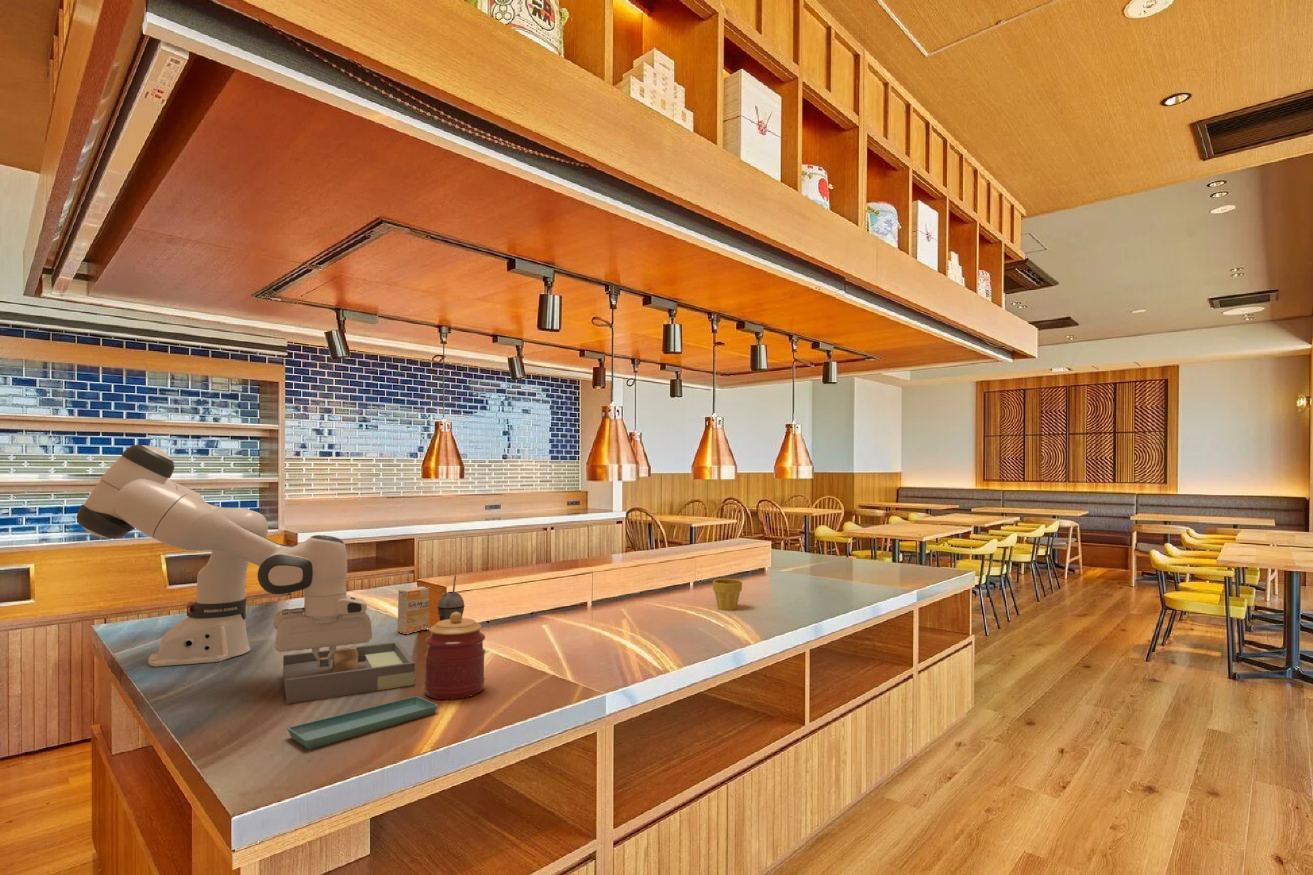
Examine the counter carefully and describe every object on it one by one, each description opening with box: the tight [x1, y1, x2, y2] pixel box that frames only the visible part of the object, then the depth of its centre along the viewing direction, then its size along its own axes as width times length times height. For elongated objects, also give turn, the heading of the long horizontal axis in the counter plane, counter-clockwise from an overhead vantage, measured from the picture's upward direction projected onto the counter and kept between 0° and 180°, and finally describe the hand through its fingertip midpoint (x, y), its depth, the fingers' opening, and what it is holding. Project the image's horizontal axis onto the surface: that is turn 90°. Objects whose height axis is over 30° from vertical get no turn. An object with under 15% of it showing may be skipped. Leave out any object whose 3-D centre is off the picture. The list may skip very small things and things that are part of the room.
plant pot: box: [712, 578, 743, 611], centre depth 246 cm, size 10×10×10 cm
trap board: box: [282, 641, 416, 705], centre depth 162 cm, size 26×22×5 cm
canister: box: [424, 612, 486, 701], centre depth 155 cm, size 13×13×18 cm
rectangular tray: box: [286, 695, 439, 750], centre depth 134 cm, size 26×9×2 cm, turn 138°
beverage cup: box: [437, 574, 465, 621], centre depth 191 cm, size 7×7×20 cm
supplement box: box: [397, 586, 430, 634], centre depth 210 cm, size 8×5×13 cm, turn 143°
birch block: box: [332, 646, 358, 673], centre depth 161 cm, size 5×5×4 cm
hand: (323, 666), depth 159 cm, fingers closed
